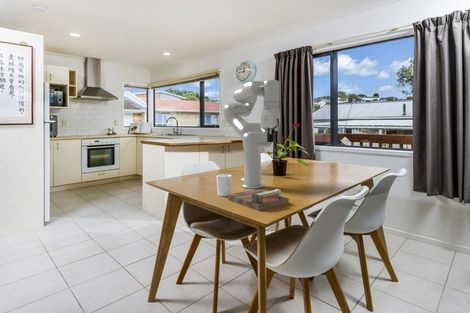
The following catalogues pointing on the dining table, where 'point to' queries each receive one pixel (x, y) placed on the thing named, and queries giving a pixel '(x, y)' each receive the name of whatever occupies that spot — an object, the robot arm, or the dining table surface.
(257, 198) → the stool leg
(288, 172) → the dining table surface
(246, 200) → the stool seat
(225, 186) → the white cup
